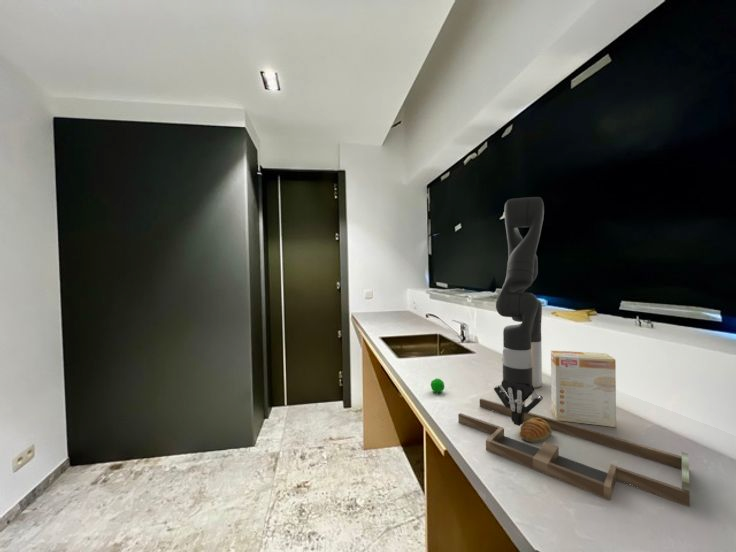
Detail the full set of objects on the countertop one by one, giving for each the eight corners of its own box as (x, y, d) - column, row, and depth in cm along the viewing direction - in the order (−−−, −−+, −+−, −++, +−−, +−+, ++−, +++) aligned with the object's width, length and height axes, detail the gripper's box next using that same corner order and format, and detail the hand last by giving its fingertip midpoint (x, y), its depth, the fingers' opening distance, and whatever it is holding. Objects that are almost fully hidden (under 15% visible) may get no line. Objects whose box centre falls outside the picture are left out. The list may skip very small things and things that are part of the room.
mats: (504, 437, 84) (504, 435, 84) (610, 475, 68) (610, 474, 68) (491, 449, 79) (491, 448, 79) (604, 495, 62) (604, 493, 62)
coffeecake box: (607, 416, 94) (606, 352, 94) (617, 428, 87) (616, 359, 87) (550, 410, 99) (550, 349, 99) (556, 420, 92) (555, 355, 92)
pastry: (539, 448, 79) (539, 433, 79) (513, 438, 84) (512, 424, 84) (553, 435, 85) (553, 421, 85) (528, 426, 90) (527, 413, 90)
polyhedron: (447, 392, 115) (447, 379, 115) (438, 395, 112) (437, 382, 112) (437, 388, 119) (436, 375, 119) (428, 391, 116) (427, 378, 116)
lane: (481, 405, 103) (480, 393, 103) (687, 469, 70) (688, 451, 69) (444, 432, 87) (443, 418, 87) (690, 533, 53) (690, 510, 53)
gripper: (547, 365, 85) (547, 427, 86) (499, 356, 95) (499, 412, 95) (538, 372, 80) (538, 438, 80) (488, 361, 89) (488, 421, 90)
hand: (517, 424), depth 88 cm, fingers closed
